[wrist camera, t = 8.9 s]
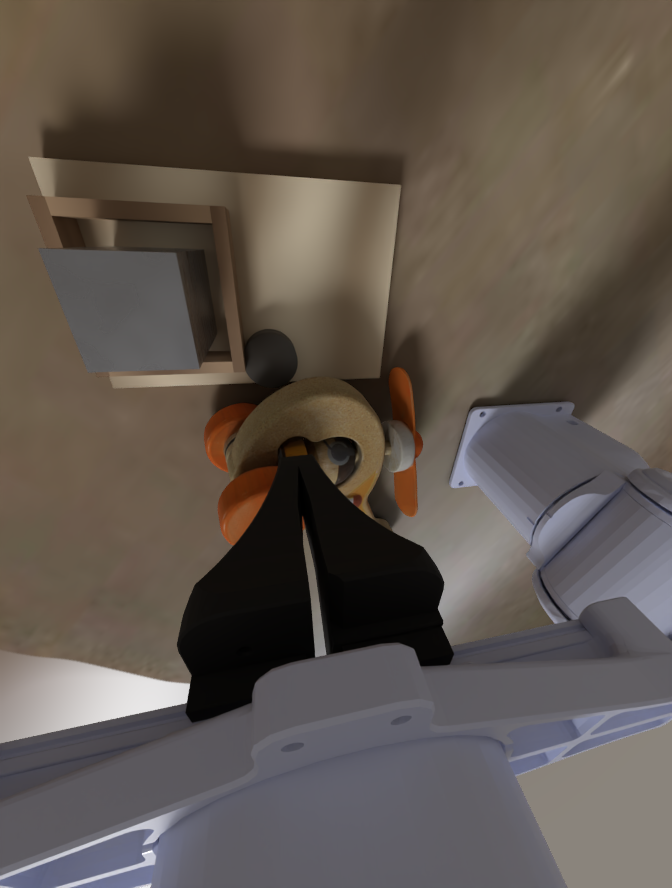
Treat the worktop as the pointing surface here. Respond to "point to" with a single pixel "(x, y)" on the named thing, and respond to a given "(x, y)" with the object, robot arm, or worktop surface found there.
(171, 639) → the worktop surface
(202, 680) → the robot arm
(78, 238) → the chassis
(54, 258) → the grey rectangular block
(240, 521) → the toy helicopter
